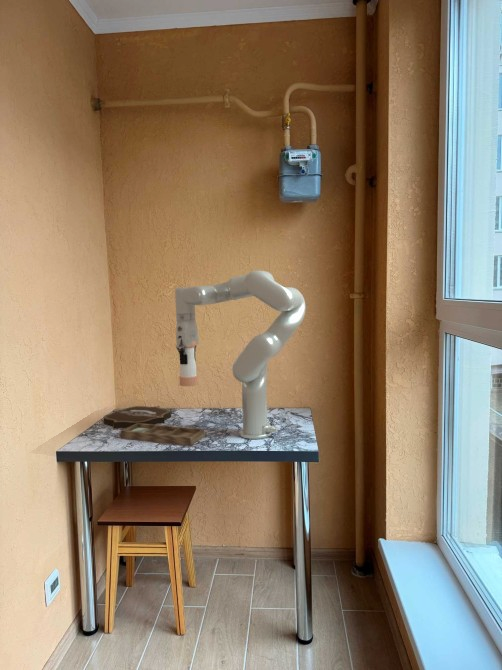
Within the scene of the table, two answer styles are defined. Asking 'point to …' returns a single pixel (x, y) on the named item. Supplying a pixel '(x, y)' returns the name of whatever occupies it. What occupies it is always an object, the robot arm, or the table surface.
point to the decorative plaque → (137, 416)
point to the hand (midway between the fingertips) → (187, 362)
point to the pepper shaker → (189, 368)
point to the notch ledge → (163, 434)
